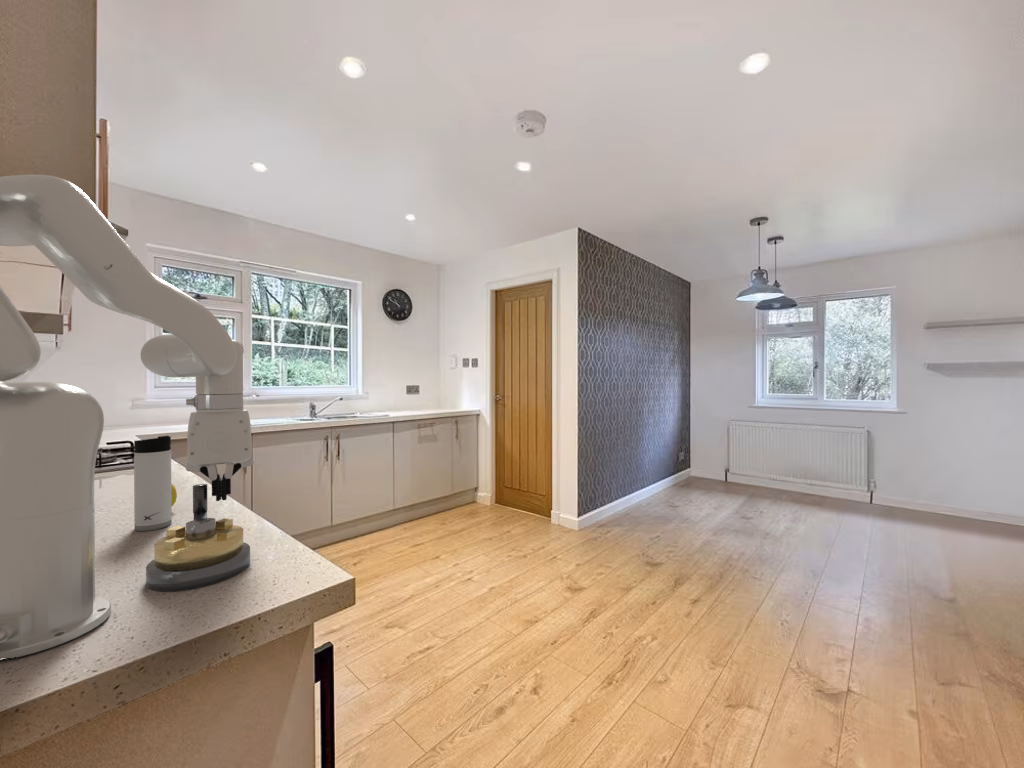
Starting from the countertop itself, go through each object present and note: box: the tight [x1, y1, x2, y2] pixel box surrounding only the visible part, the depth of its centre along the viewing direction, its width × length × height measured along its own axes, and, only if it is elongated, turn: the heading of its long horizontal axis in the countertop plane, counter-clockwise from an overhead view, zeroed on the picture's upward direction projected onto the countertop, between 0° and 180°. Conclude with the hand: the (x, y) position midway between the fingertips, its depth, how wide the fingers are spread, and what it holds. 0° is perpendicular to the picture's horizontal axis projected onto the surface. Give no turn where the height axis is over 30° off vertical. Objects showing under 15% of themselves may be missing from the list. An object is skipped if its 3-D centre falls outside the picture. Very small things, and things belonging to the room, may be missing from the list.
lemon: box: [171, 483, 178, 507], centre depth 103 cm, size 6×6×8 cm
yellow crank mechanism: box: [153, 483, 244, 570], centre depth 74 cm, size 18×12×10 cm, turn 37°
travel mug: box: [133, 435, 173, 532], centre depth 94 cm, size 6×7×20 cm
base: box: [145, 541, 251, 593], centre depth 71 cm, size 14×14×2 cm
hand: (221, 498), depth 82 cm, fingers closed
